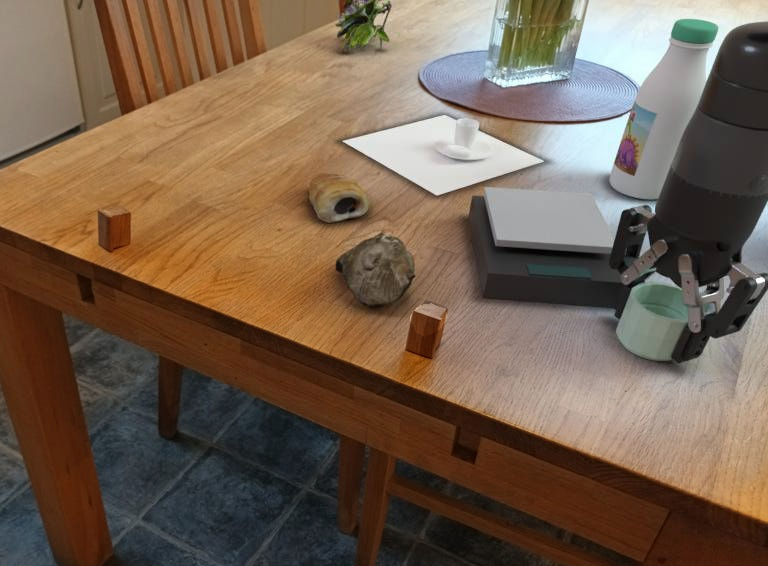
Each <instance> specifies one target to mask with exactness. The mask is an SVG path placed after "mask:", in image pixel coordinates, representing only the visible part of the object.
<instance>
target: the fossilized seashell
mask: <svg viewBox="0 0 768 566" xmlns="http://www.w3.org/2000/svg"><path fill="white" fill-rule="evenodd" d="M415 265H416V264H415V260H414V256H413V255H412V253H411V252H410V251H408V250H407V248H406V246H405V244H404V242H403V240H401V239H400V238H398V237H397V236H393V235H386V234H385V233H384V232H380V233H377V235H374V236H373V237H369V238H365V239H363V240H362V241H360V242H359V243H358V244H356V245H355V246H353V247H352V248H350V249H349V250H347V251H346V252H344V253H343V254H341V255H340V256H338V258H337V259H336V261H335V271H336V272H338V273H340V274H341V275H342V277H343V280H344V282H345V285H347V288H348V289H349V291H350V292H351V293H352V295H353V297H354V299H355V300H356V301H357V302H359V303H360V304H361V305H362V304H363V305H364V306H366V307H371V308H372V307H373V308H374V307H376V308H379V307H384V306H388V305H391V304H393V303H395V302H397V301H399V300H401V299H402V298H403V297H404V295H405V294H406V293H407V292H408V289H410V287H411V285H412V283H413V280H414V278H416V277H417V276H416V272H415Z"/></svg>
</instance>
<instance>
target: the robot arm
mask: <svg viewBox="0 0 768 566" xmlns="http://www.w3.org/2000/svg"><path fill="white" fill-rule="evenodd" d="M767 204H768V20H766V21H755V22H749V23H745V24H741V25H738V26H736V27H734V28H733V29H731V30H729V32H728V33H727V34H726V35H725V36H724V38H723V40H722V42H721V44H720V46H719V48H718V51H717V53H716V55H715V58H714V60H713V64H712V66H711V68H710V71H709V74H708V76H707V78H706V84H705V87H704V89H703V92H702V94H701V97H700V100H699V102H698V105H697V107H696V110H695V112H694V114H693V116H692V117H691V119H690V121H689V123H688V125H687V126H686V128H685V130H684V133H683V135H682V137H681V140H680V142H679V145H678V148H677V150H676V153H675V156H674V158H673V161H672V164H671V166H670V169H669V171H668V174H667V177H666V179H665V182H664V185H663V187H662V190H661V193H660V195H659V198H658V199H656V203H655V207H654V212H653V211H652V210H653V209H652V208H651V206H650V205H648V204H644V205H638V206H633V207H630V208H626V209H623V210H622V211H621V213H620V217H619V221H618V225H617V228H616V233H615V236H614V244H613V248H612V251H611V255H610V259H609V266H610V268H611V269H613V270H615V269H617V270H618V271H619V273H620V274H621V277H620V278H621V282H622V285H621V287H620V290H619V293H618V295H617V299H616V301H615V303H614V307H613V308H614V310H615V311H614V314H613V316H614V317H615V318H616V319H618V321H619V320H620V318H621V315H622V313H623V310H624V308H625V305H626V302H627V300H628V297H629V294H630V292H631V289H632V288H633V287H635V286H636V285H638V284H640V283H645V282H646V280H649V278H651V277H652V276H653V275H654V276H655V274H658V275H660V276H662V277H665V278H668V279H670V280H671V282H673V284H674V285H676V286H678V287H680V288H681V289H682V299H683V304H684V305H685V306H687V311H688V326H687V327H685V328H684V330H683V332H682V335H681V337H680V339H679V341H678V343H677V345H676V348H675V350H674V352H673V354H672V356H671V358H672V359H673V360H672V361H674V362H675V363H677V364H681V363H684V362H689V361H692V360H694V359H695V360H696V359H698V358H699V357H700V356H702V354H703V353H704V351H705V348H706V346H707V344H708V342H709V340H710V338H712V339H720V338H723V337H725V336H729V335H732V334H735V333H738V332H740V331H741V330H742V329H743V328H744V326H745V324H746V322H747V321H748V320H749V318H750V317H751V315H752V314H753V312H754V310H755V309H756V308H757V306H758V305H759V304H760V302H761V301H762V299H763V297H764V296H765V294H766V292H767V291H768V273H767V272H761V273H757V274H756V272H753V270H751V269H750V268H748V267H747V266H746V265H744V264H742V263H743V262H742V261H743V255H742V253H743V247H744V246H745V244H746V242H747V241H748V239H749V238H750V237H751V235H752V234H753V232H754V230H755V228H756V226H757V225H758V222H759V220H760V218H761V216H762V214H763V212H764V210H765V208H766V206H767ZM646 235H647V237H648V243H649V248H648V249H647V250H646V251H645V252H644V253H643V254H641V252H642V249H643V244H644V242H645V237H646ZM726 276H728V278H729V284H728V287H727V288H726V293H727V294H729V295H728V296H727V298H726V299H725V301H724V302H723V304H722V305H721V302H722V300H723V299H724V297H725V277H726ZM703 287H706V288H705V290H704V291H701V292H700V288H703Z"/></svg>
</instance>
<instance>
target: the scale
mask: <svg viewBox="0 0 768 566" xmlns="http://www.w3.org/2000/svg"><path fill="white" fill-rule="evenodd" d="M467 220H468V226H469V232H470V236H471V237H470V238H471V242H472V249H473V252H474V259H475V265H476V269H477V275H478V281H479V286H480V290H481V297H482V298H483V299H492V300H507V301H521V302H534V303H535V302H536V303H547V304H561V305H574V306H586V307H588V306H589V307H600V308H614V303H615V301H616V299H617V295H618V293H619V290H620V287H621V285H622V282H621V278H620V277H621V274H620V273H619V271H618V270H617V269H615V270H613V269H611V268H610V266H609V259H610V255H611V251H612V248H613V244H614V240H615V238H614V237H613V234H612V232H611V231H610V229H609V227H608V225H607V223H606V220H605V218H604V216H603V214H602V212H601V210H600V208H599V207H598V204H597V202H596V200H595V198H594V196H593V194H592V193H586V192H585V193H584V192H568V191H553V190H538V189H536V190H535V189H524V188H523V189H522V188H508V187H507V188H505V187H489V186H485V187H484V188H483V195H472V196H471V201H470V206H469V210H468V215H467Z"/></svg>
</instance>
